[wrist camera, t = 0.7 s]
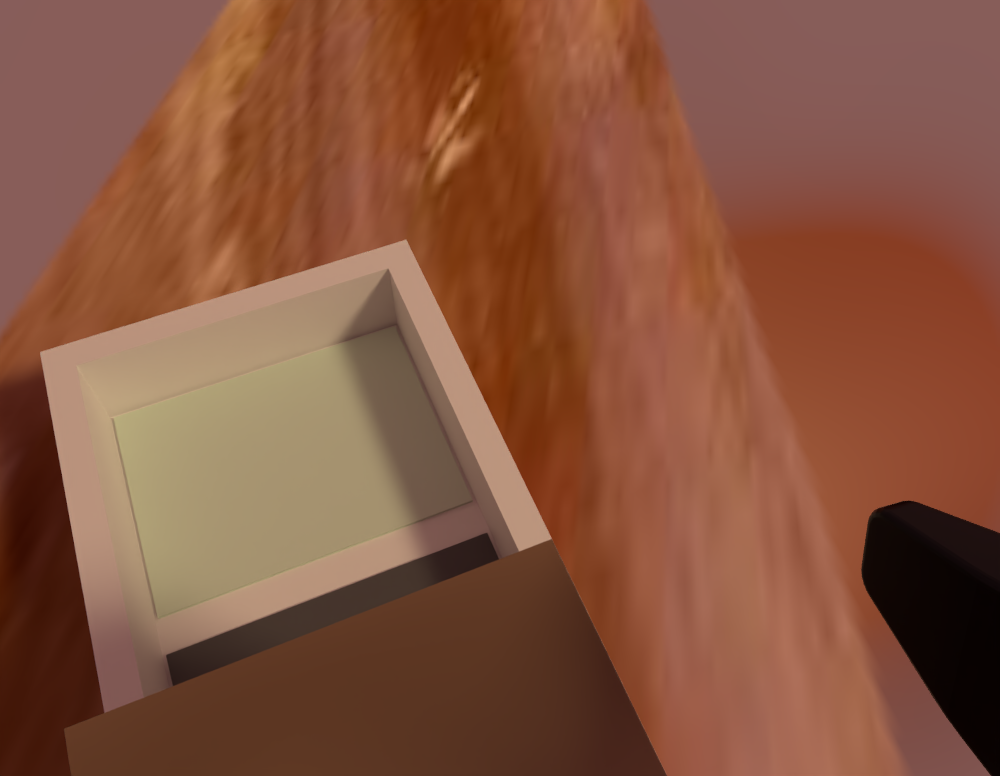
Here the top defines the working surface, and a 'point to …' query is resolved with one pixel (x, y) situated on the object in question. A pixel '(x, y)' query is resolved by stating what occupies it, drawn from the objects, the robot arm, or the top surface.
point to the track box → (274, 468)
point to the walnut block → (400, 694)
